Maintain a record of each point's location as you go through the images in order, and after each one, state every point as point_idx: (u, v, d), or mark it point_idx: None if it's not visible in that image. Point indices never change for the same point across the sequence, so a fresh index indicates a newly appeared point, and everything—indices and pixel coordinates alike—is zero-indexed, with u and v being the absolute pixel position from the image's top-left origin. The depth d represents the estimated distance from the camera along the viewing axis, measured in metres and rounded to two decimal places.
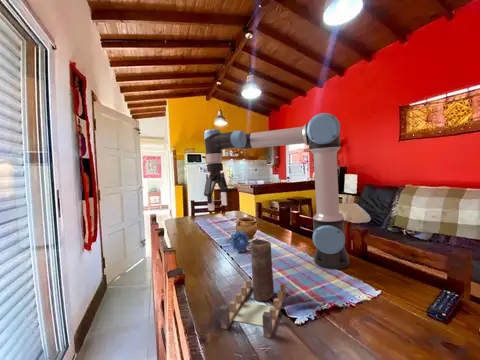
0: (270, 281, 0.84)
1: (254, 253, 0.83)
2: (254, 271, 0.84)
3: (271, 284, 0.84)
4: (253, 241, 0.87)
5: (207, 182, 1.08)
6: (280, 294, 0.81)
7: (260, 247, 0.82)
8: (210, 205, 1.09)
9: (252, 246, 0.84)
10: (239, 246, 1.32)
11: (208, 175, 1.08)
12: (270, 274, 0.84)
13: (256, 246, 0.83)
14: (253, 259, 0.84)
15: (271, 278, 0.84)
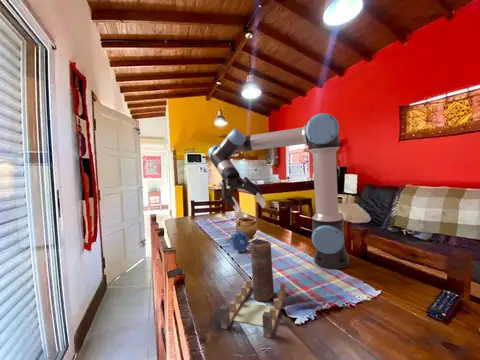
0: (270, 281, 0.84)
1: (254, 253, 0.83)
2: (254, 271, 0.84)
3: (271, 284, 0.84)
4: (253, 241, 0.87)
5: (222, 188, 1.01)
6: (280, 294, 0.81)
7: (260, 247, 0.82)
8: (235, 207, 0.95)
9: (252, 246, 0.84)
10: (239, 246, 1.32)
11: (221, 182, 1.02)
12: (270, 274, 0.84)
13: (256, 246, 0.83)
14: (253, 259, 0.84)
15: (271, 278, 0.84)
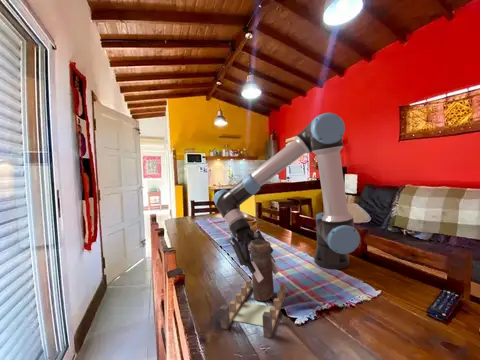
0: (270, 281, 0.84)
1: (253, 253, 0.83)
2: None
3: (271, 284, 0.84)
4: (253, 241, 0.87)
5: (235, 249, 0.86)
6: (280, 294, 0.81)
7: (260, 247, 0.82)
8: (256, 274, 0.82)
9: (252, 246, 0.84)
10: None
11: (231, 241, 0.88)
12: (270, 274, 0.84)
13: (256, 246, 0.83)
14: (253, 259, 0.84)
15: (271, 278, 0.84)
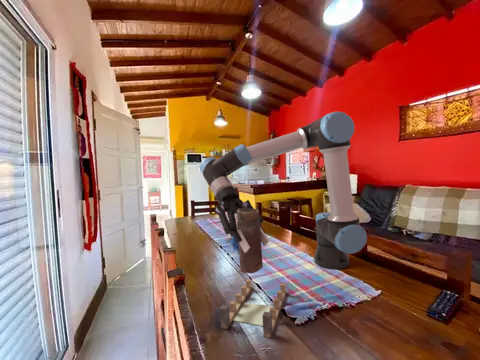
0: (258, 252, 0.75)
1: (240, 221, 0.75)
2: None
3: (259, 255, 0.76)
4: (240, 209, 0.79)
5: (220, 217, 0.78)
6: (280, 294, 0.81)
7: (247, 214, 0.74)
8: (242, 244, 0.74)
9: (238, 213, 0.76)
10: None
11: (216, 209, 0.80)
12: (258, 244, 0.76)
13: (242, 213, 0.75)
14: (239, 228, 0.76)
15: (259, 249, 0.76)
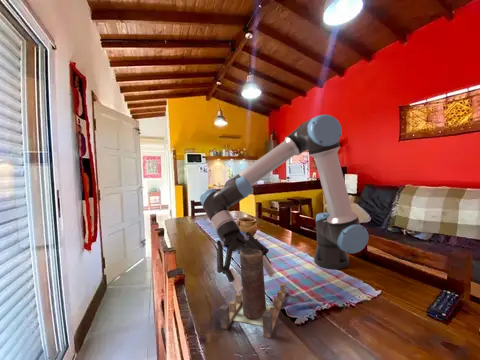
0: (262, 296, 0.74)
1: (243, 264, 0.74)
2: (244, 284, 0.74)
3: (263, 299, 0.74)
4: (243, 250, 0.77)
5: (217, 253, 0.77)
6: (280, 294, 0.81)
7: (250, 257, 0.73)
8: (235, 283, 0.71)
9: (241, 256, 0.74)
10: None
11: (216, 244, 0.78)
12: (262, 288, 0.74)
13: (246, 256, 0.73)
14: (242, 271, 0.74)
15: (263, 292, 0.75)
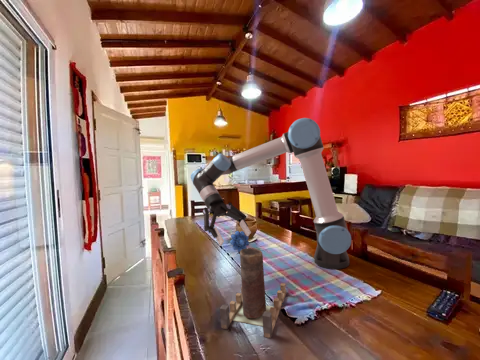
0: (262, 296, 0.74)
1: (243, 265, 0.74)
2: (244, 285, 0.74)
3: (263, 299, 0.74)
4: (243, 250, 0.77)
5: (204, 217, 0.97)
6: (280, 294, 0.81)
7: (250, 258, 0.73)
8: (218, 238, 0.91)
9: (241, 256, 0.74)
10: (239, 246, 1.32)
11: (203, 210, 0.98)
12: (262, 288, 0.74)
13: (246, 256, 0.73)
14: (242, 271, 0.74)
15: (263, 292, 0.75)
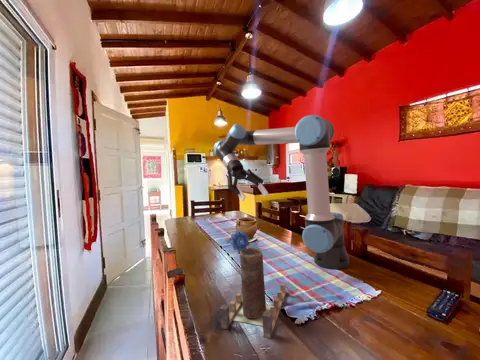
0: (262, 296, 0.74)
1: (243, 265, 0.74)
2: (243, 285, 0.74)
3: (263, 299, 0.74)
4: (243, 250, 0.77)
5: (228, 178, 1.11)
6: (280, 294, 0.81)
7: (250, 258, 0.73)
8: (240, 195, 1.05)
9: (241, 256, 0.74)
10: (239, 246, 1.32)
11: (227, 173, 1.12)
12: (262, 288, 0.74)
13: (246, 256, 0.73)
14: (242, 271, 0.74)
15: (263, 292, 0.75)
